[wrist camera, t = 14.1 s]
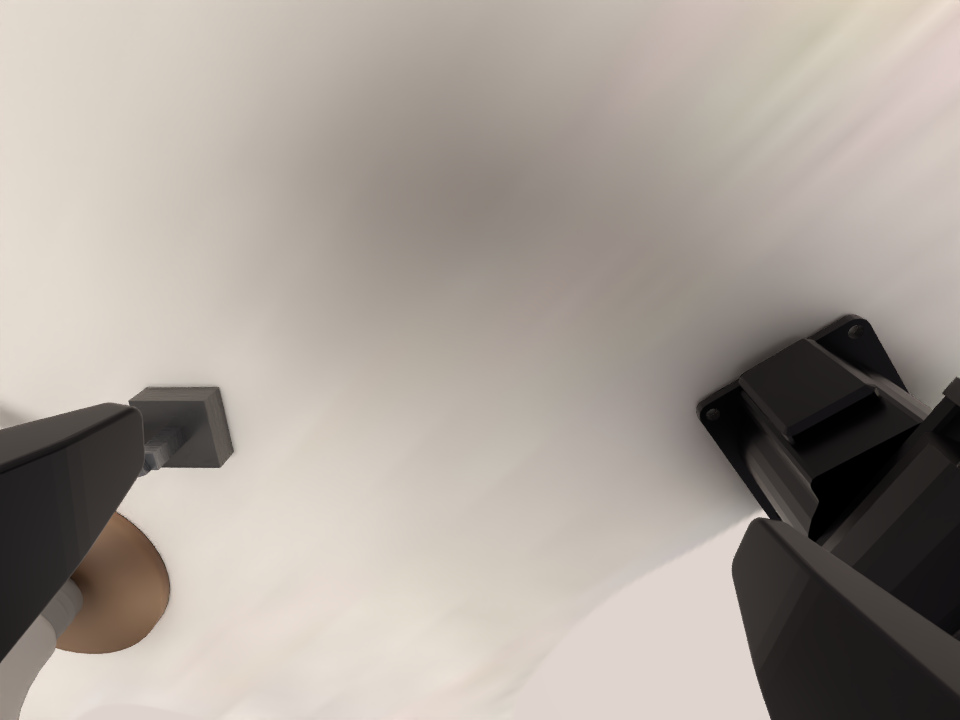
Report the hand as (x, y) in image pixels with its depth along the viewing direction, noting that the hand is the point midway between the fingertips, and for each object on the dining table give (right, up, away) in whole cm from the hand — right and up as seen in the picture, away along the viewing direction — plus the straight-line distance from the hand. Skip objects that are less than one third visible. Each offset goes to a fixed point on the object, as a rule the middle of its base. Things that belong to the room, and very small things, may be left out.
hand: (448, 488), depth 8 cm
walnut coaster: (-19, -8, +19) cm, 28 cm away
